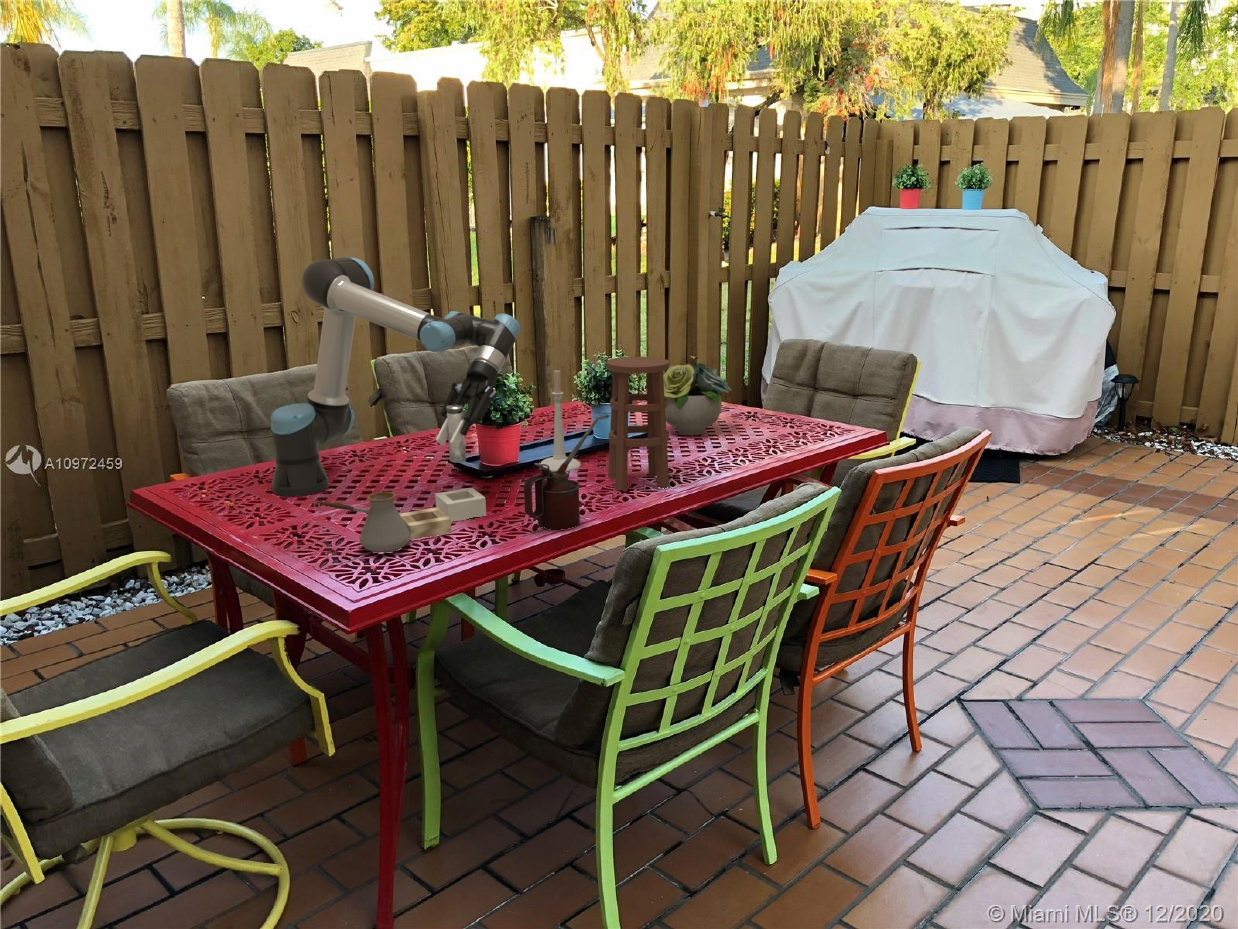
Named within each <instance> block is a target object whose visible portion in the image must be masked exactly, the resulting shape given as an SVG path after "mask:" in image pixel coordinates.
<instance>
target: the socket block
mask: <svg viewBox="0 0 1238 929" xmlns="http://www.w3.org/2000/svg"><path fill="white" fill-rule="evenodd" d="M399 514H400V516H401V518H402V519H403V521H404V523H405V525H406V526H407V528H408V530H409V532H410V540H413V539H418V538H422V537H430V536H435V535H440V534H449V533H452V523H451V519H450V518H449V517H448V516H447V515H446V514H445V513H443V512H442V511H441V510H440V509H439V508H438V507H436V506H435V507H431V508H426V509H420V510H414V511H407V512H403V513H402V512H401V513H399ZM410 540H409V541H410Z"/></svg>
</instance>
